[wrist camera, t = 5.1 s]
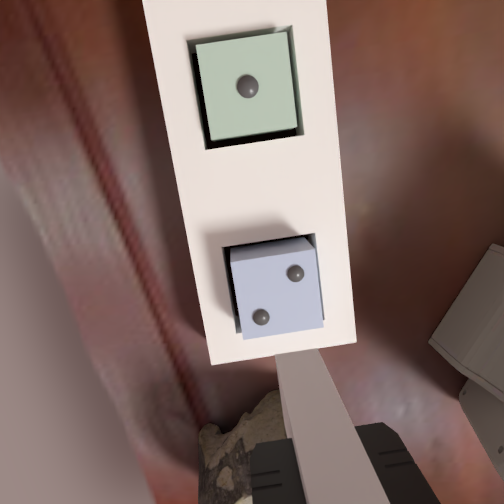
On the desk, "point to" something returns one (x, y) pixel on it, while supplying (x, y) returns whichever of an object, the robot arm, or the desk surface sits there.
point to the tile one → (247, 86)
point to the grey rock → (236, 452)
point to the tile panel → (256, 166)
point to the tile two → (276, 287)
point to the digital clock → (479, 351)
